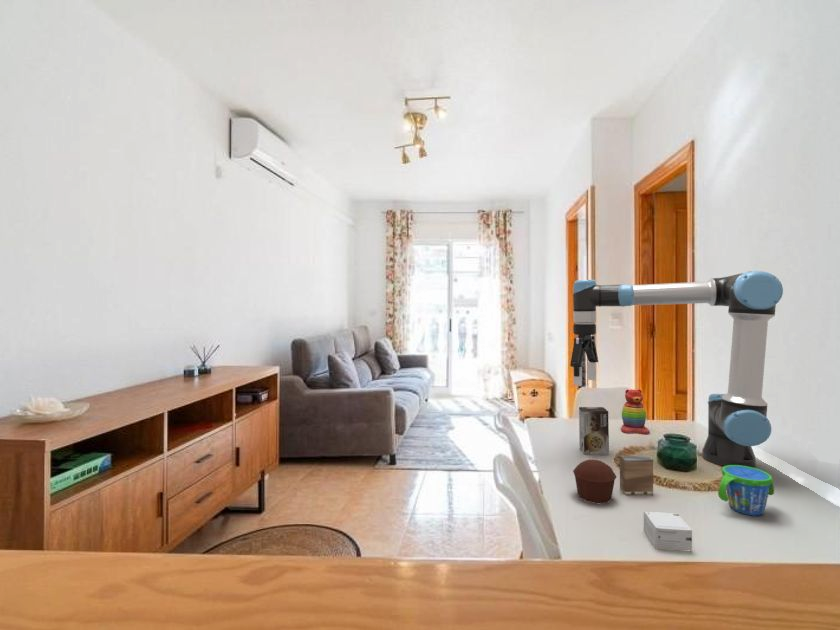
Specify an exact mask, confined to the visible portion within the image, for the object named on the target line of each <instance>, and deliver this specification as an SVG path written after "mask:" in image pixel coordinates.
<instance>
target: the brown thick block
mask: <svg viewBox="0 0 840 630" xmlns="http://www.w3.org/2000/svg"><path fill="white" fill-rule="evenodd" d="M619 490H620V492H622V493H623V494H624V495H627V496H629V495H631V496H633V495H635V496H636V495H638V496H639V495H640V496H641V495H646V496H647V495H650V496H651V495H654V459H653V458H651V457H649V456H648V455H620V456H619Z"/></svg>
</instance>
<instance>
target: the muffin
mask: <svg viewBox="0 0 840 630" xmlns="http://www.w3.org/2000/svg"><path fill="white" fill-rule="evenodd" d="M572 472H573V475H574V479H575V485H576V491H577V495H578V496H579V499H581V498H582V500H584V501H585V500H586V501H585V502H588V503H592V502H594V503H593V504H597V503H600V504H608V503H609V502H608V501H611V500H612V497H613V492H614V491H613V490H614V486H615V481H616V478H617V475H616V473H615V472H614V470H613V469H612V467H611V466H610V465H609V464H607V463H606V462H603V461H602V460H599V459H585V460H583V461H581V462H579V464H578V465H576V466H575V468H574V470H573V471H572Z"/></svg>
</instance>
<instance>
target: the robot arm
mask: <svg viewBox="0 0 840 630" xmlns="http://www.w3.org/2000/svg"><path fill="white" fill-rule="evenodd" d="M596 281H597V280H595V279H578V280H575V281H574V282H573V287H572V288H573V289H572V290H573V292H572V298H573V299H572V302H573V304H572V307H573V308H572V311H573V313H572V315H571V316H572V317H573V323H574V324H573V328H572V329H573V334H574V335H577V337H574V338H573V347H572V352H571V359H570V364H569V365H570V367H571V368H572V367H573V369H572V371H573V372H572V374H573V375H572V376H573V377H572V379H573V381H572V382H573V384H572V385H573V386H576V387H583V367H582V362H583V359H584V356H585V355H586V358H587V360H588V361H587V367H586V370H587V372H586V373H587V375H586V376H587V377H586V379H587V380H588V381H597V378H596V376H597V375H596V371H597V368H596V367H597V364H596V363H599V357H598V351H597V347H596V338H595V337H596V336H595V335H596V334H597V326H596V325H597V324H595V323H596V322H597V307H622V308H623V307H632V306H653V305H656V306H658V305H659V306H660V305H685V304H686V305H688V304H689V305H690V304H694V305H695V304H708V305H709V306H711V307H713V306H714V307H716V306H717V307H718V306H719V307H728V310H727V311H728V315H729V316H730V317H731V318H732V319H733V322H732V334H731V335H732V336H731V345H730V346H731V347H730V348H731V349H730V363H729V373H728V374H729V375H728V386H727V387H728V388H727V392H726V393H711V394H709V396H708V400H707V405H708V409H707V411H708V415H707V418H708V419H707V422H708V425H707V427H708V430H707V431H708V433H707V437H706V440H705V443H704V444H703V447H702V452H701V453H702V454H701V455H702V458H703V459H704V460H706V461H708V462H710V463H713V464H716V465H718V466H719V465H720V466H723V467H724V466H727V465H741V466H748V467H752V468H755V467H756V465H757V463H756V461H757V458H756V455H755V453H754V450H753V448H752V447H756V446H760V445H761V444H764V442H766V441H768V439H769V438H770V436H771V435H772V425H771V422H770V420H769V418H768V417H767V416H768V415H767V413H768V402H766V401H765V400H764V398H763V387H764V386H763V385H764V374H765V373H764V372H765V362H766V361H765V359H766V350H767V349H766V348H767V339H768V327H769V326H768V324H769V321H770V320H771V319H772V318H774V317H775V315H776V307H777V304H778V303H779V302H780V300H781V299H782V297H783V294H784V287H783V283H782V282H781V280H780V279H779V278H778V277H776V275H774V274H773V273H770V272H767V271H762V270H751V271H747V272H742V273H737V274H733V275H729V276H724V277H714V278H713V277H712V278H711V277H710V278H709V279H708V280H707V281H693V282H692V281H691V282H669V283H648V284H625V283H623V284H606V285H605V284H603V285H600V284H597V282H596Z"/></svg>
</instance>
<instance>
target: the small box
mask: <svg viewBox="0 0 840 630" xmlns="http://www.w3.org/2000/svg"><path fill="white" fill-rule="evenodd" d="M643 533H644V534H645V536H646V537H647V538H648V540H649V541H650V543H651V545H652V546H653V548H654V549H655V548H657V549H656V550H658V549H661V550H670V549H672V550H673V549H674V550H673V551H681V550H690V551H689V552H692V551H693V529H692V528H691V527H690V526H689V525H688V523H687V522H685V521H684V519H683V518H682V517H681V516H680V515H679V514H678V513H672V512H671V513H670V512H663V511H662V512H661V511H657V512H656V511H655V512H654V511H643Z"/></svg>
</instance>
